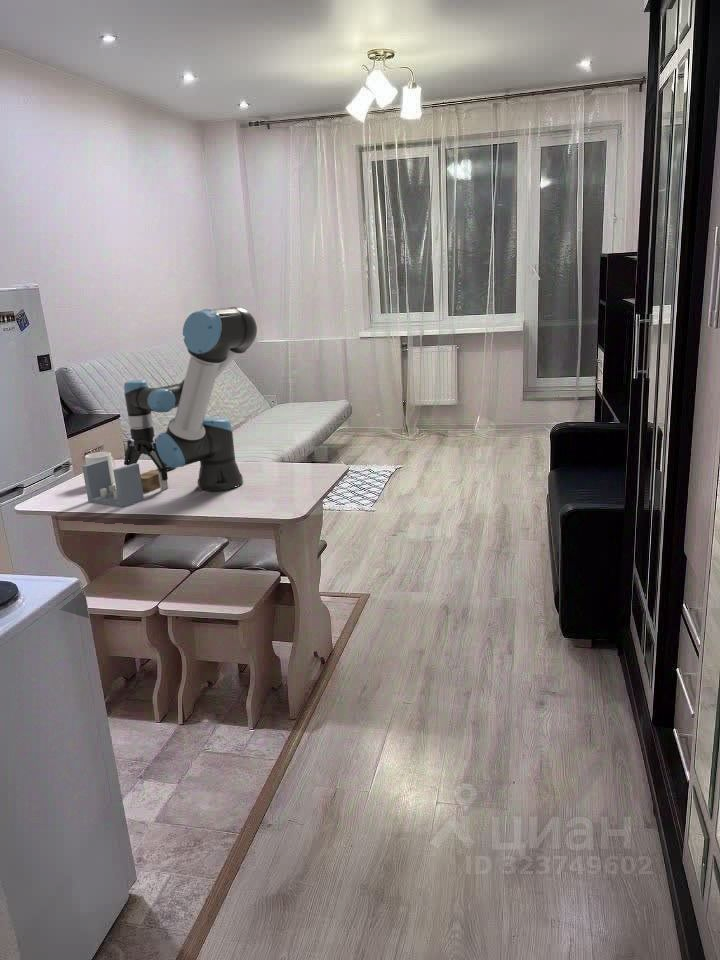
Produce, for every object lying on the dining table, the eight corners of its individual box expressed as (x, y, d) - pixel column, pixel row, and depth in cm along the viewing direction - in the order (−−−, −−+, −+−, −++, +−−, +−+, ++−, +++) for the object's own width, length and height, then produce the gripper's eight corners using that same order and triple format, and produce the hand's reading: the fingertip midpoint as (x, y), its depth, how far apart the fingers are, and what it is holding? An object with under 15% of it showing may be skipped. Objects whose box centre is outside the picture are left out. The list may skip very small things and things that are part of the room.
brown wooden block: (153, 483, 251) (151, 470, 250) (167, 484, 249) (165, 471, 248) (134, 492, 243) (132, 477, 241) (148, 493, 240) (146, 478, 239)
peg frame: (144, 499, 233) (138, 463, 229) (123, 507, 226) (117, 470, 223) (109, 493, 242) (103, 459, 238) (88, 501, 235) (82, 465, 231)
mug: (126, 478, 260) (122, 449, 257) (104, 487, 250) (99, 458, 247) (107, 477, 263) (103, 449, 260) (84, 486, 253) (79, 457, 250)
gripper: (176, 426, 237) (184, 487, 243) (125, 422, 250) (133, 480, 255) (159, 431, 231) (168, 494, 236) (107, 426, 243) (117, 486, 249)
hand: (150, 487), depth 246 cm, fingers open, 13 cm apart
